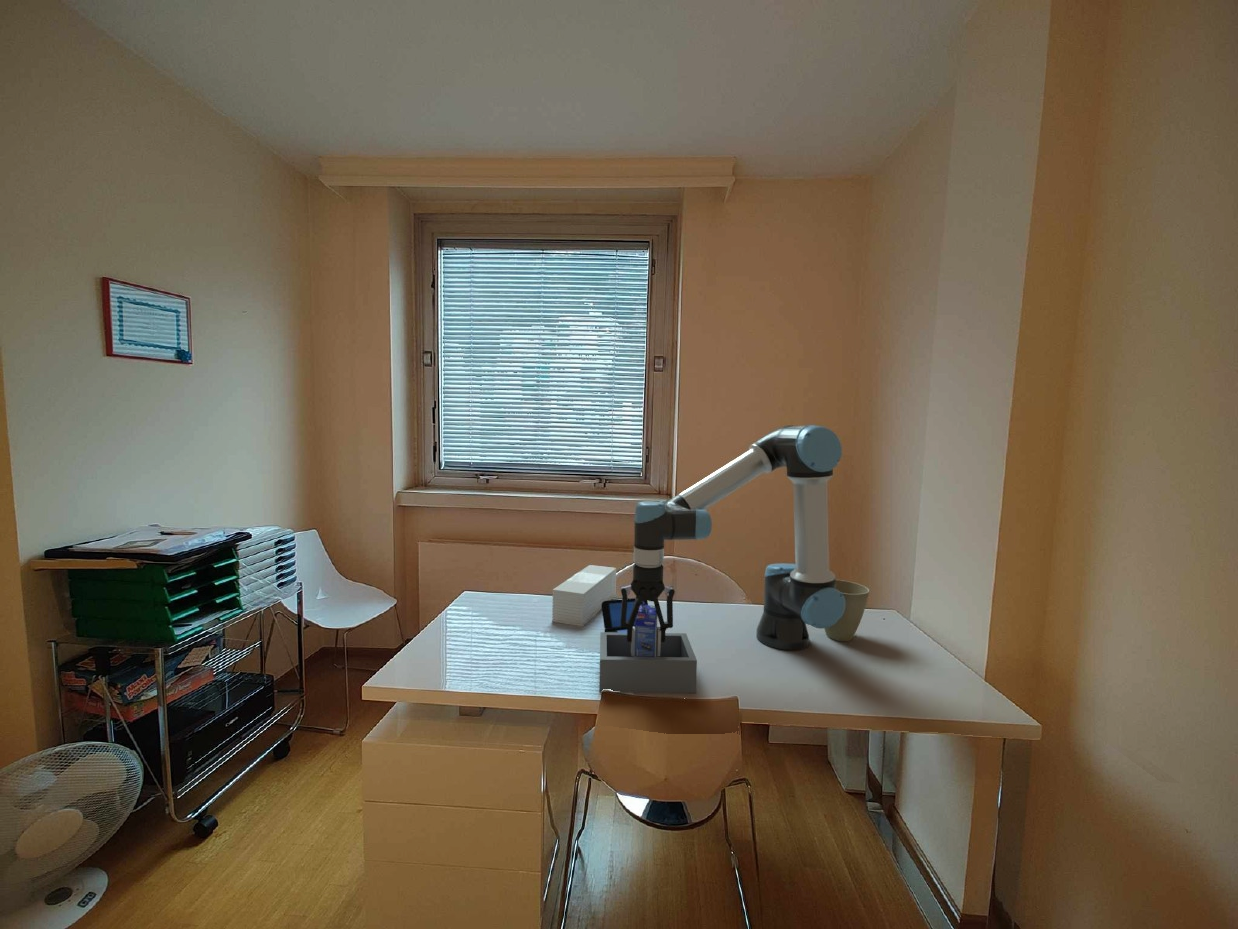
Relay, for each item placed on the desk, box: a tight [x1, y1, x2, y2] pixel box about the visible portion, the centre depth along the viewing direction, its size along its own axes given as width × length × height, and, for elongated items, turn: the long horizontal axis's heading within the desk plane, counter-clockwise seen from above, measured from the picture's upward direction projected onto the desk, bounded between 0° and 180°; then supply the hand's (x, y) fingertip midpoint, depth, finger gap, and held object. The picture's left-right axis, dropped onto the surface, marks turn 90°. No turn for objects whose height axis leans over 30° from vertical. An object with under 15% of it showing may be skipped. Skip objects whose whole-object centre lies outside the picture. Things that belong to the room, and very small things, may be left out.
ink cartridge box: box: [634, 601, 658, 657], centre depth 128 cm, size 10×6×14 cm, turn 174°
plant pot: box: [823, 579, 870, 642], centre depth 157 cm, size 15×15×16 cm
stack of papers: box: [551, 564, 617, 627], centre depth 177 cm, size 32×11×11 cm, turn 162°
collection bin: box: [598, 631, 698, 694], centre depth 129 cm, size 23×16×8 cm
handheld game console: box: [601, 597, 649, 633], centre depth 155 cm, size 16×13×9 cm
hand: (645, 653), depth 129 cm, fingers closed on ink cartridge box, 6 cm apart
